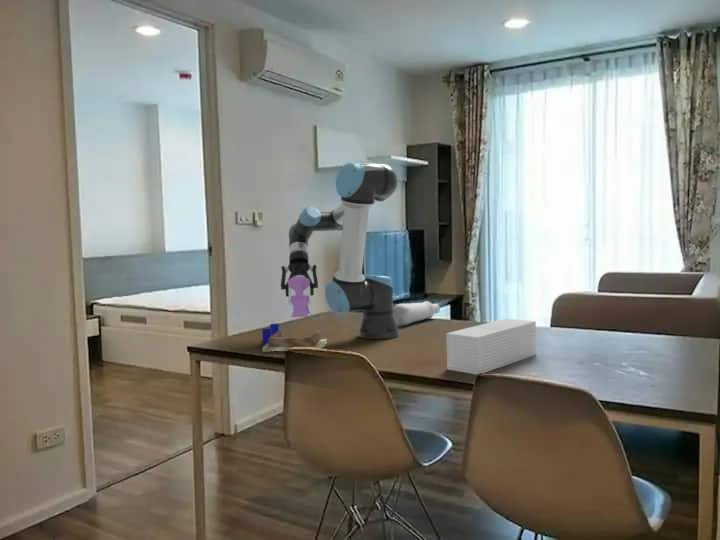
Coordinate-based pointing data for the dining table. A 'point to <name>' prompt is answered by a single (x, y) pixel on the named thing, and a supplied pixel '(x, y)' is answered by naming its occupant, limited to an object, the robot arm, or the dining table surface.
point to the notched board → (293, 342)
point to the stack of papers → (490, 345)
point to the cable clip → (269, 332)
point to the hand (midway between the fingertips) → (299, 301)
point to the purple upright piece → (299, 296)
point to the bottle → (414, 312)
